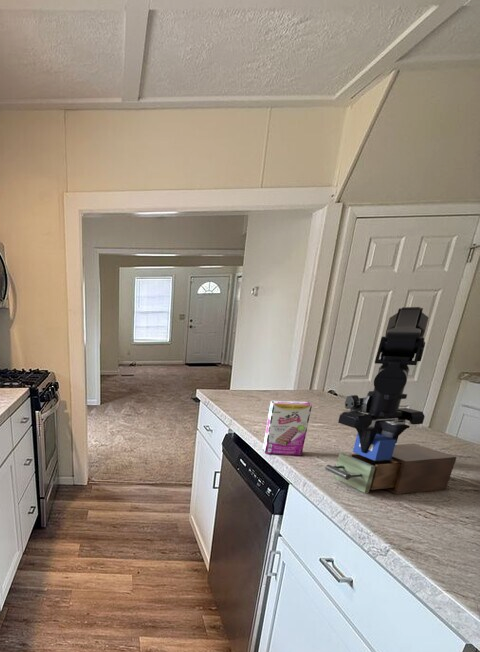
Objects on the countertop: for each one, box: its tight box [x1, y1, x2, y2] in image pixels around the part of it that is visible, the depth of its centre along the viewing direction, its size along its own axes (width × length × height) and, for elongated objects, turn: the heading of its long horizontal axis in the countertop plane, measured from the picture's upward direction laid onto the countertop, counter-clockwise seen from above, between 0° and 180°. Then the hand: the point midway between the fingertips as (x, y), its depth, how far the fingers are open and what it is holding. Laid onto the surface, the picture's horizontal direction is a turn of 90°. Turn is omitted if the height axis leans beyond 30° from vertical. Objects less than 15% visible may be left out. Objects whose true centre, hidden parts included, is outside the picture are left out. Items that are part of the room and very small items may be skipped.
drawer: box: [324, 452, 402, 494], centre depth 101 cm, size 18×10×7 cm, turn 100°
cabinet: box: [384, 443, 458, 495], centre depth 103 cm, size 15×12×9 cm
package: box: [352, 432, 397, 461], centre depth 99 cm, size 7×4×5 cm, turn 11°
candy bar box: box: [262, 400, 313, 456], centre depth 126 cm, size 11×5×16 cm, turn 78°
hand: (372, 451), depth 99 cm, fingers closed on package, 5 cm apart
